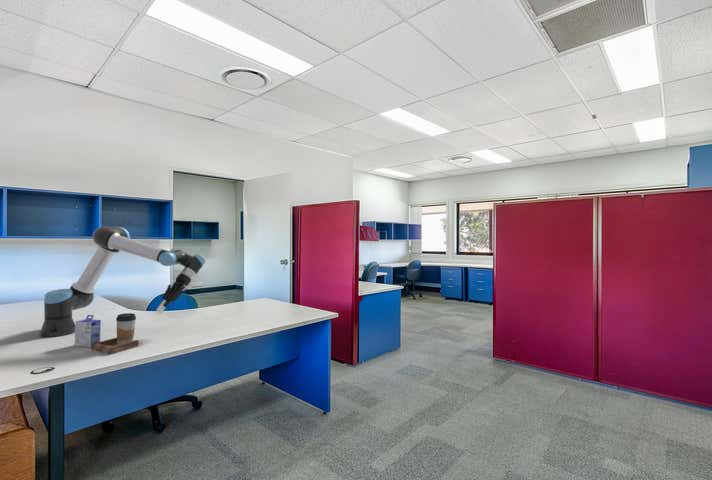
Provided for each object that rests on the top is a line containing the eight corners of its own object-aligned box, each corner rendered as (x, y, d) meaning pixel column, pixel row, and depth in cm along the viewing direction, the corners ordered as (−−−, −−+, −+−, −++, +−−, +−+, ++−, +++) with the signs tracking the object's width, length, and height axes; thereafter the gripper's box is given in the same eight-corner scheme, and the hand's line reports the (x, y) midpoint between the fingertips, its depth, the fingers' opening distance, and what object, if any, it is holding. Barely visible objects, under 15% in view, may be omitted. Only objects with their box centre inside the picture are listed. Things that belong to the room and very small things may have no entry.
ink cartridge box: (101, 344, 176) (101, 315, 176) (90, 347, 171) (91, 317, 171) (84, 342, 178) (84, 314, 178) (74, 346, 173) (74, 316, 173)
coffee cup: (139, 344, 178) (140, 314, 177) (123, 348, 170) (125, 317, 169) (126, 341, 180) (127, 312, 180) (110, 346, 172) (111, 315, 172)
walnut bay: (91, 350, 167) (91, 343, 167) (119, 342, 179) (119, 336, 179) (111, 354, 162) (111, 347, 162) (138, 346, 174) (138, 340, 174)
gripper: (197, 282, 205) (171, 316, 190) (181, 280, 210) (154, 313, 195) (190, 273, 200) (162, 308, 185) (173, 272, 205) (145, 306, 190)
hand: (158, 311), depth 190 cm, fingers closed
